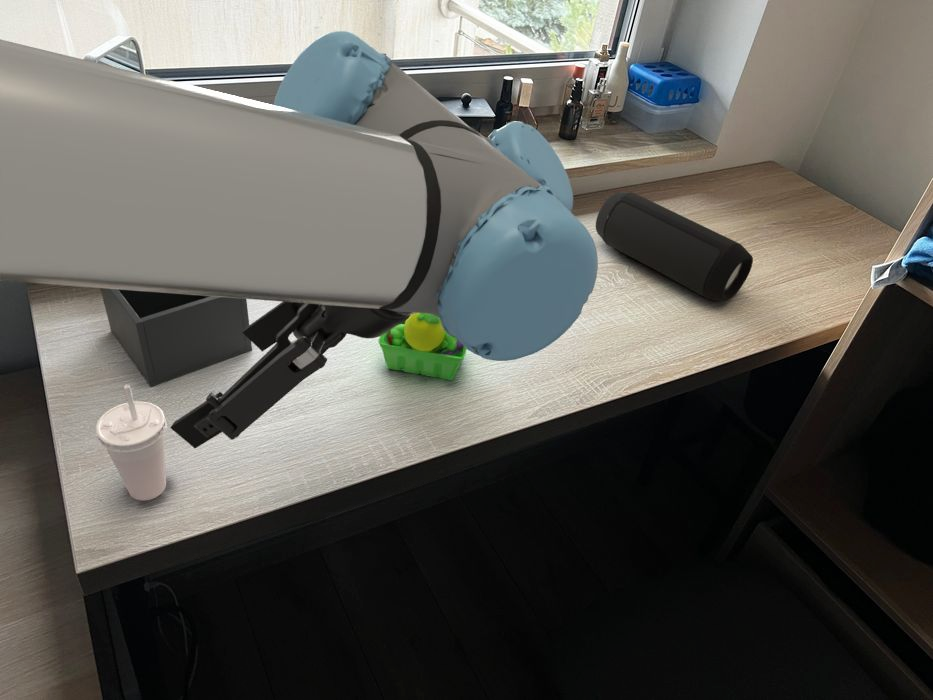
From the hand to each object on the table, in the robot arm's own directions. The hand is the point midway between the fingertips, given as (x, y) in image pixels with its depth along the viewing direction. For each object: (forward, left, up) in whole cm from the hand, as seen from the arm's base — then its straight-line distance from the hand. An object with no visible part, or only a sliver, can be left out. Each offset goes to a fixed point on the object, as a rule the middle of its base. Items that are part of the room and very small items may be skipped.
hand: (221, 383), depth 66 cm
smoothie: (-7, +8, -18) cm, 21 cm away
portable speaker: (+80, +6, -18) cm, 82 cm away
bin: (+6, +30, -17) cm, 35 cm away
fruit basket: (+30, +8, -18) cm, 36 cm away
